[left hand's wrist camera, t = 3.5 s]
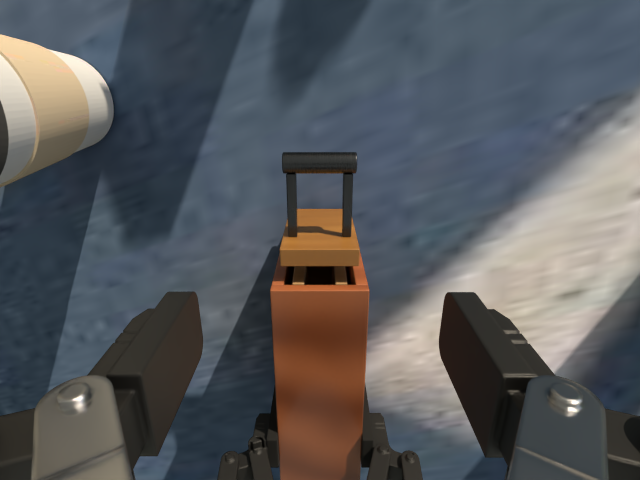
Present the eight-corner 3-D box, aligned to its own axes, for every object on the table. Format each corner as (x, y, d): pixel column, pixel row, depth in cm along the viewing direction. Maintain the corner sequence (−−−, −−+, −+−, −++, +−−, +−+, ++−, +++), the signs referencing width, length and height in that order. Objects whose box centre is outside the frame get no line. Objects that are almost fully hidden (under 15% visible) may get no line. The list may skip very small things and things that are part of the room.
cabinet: (284, 232, 34) (269, 290, 24) (355, 232, 34) (369, 290, 24) (290, 390, 40) (280, 486, 31) (350, 390, 40) (359, 486, 31)
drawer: (287, 139, 30) (275, 158, 22) (352, 139, 30) (363, 158, 22) (294, 369, 38) (287, 444, 30) (345, 369, 38) (352, 444, 30)
